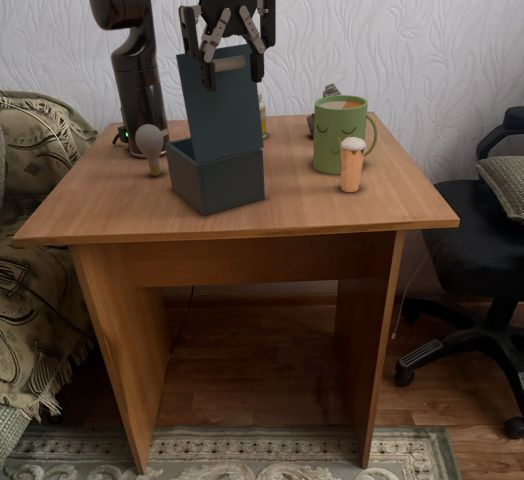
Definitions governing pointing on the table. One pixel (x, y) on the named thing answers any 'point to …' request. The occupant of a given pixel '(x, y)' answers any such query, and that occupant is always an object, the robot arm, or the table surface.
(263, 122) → the supplement bottle
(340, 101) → the mug
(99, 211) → the table surface
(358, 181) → the milkshake
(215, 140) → the lid
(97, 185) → the table surface
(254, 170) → the compartment
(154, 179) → the table surface
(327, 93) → the camera
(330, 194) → the table surface
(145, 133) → the light bulb
